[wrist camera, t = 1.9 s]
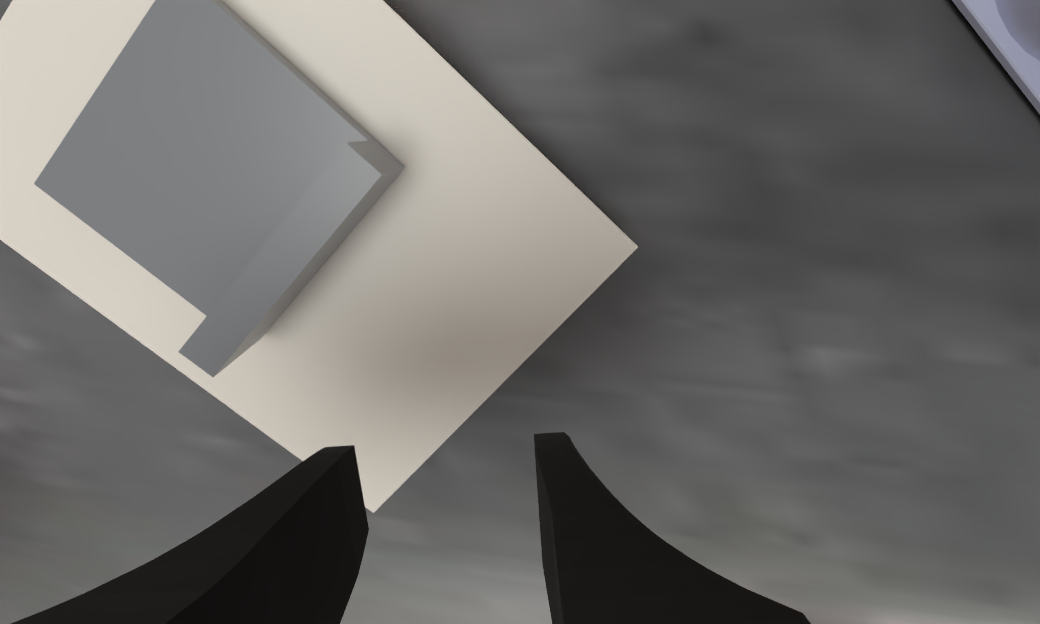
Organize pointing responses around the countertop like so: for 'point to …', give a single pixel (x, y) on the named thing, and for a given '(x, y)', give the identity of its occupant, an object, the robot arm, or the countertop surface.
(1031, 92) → the robot arm
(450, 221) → the socket board
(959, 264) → the countertop surface
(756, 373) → the countertop surface
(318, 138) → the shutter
